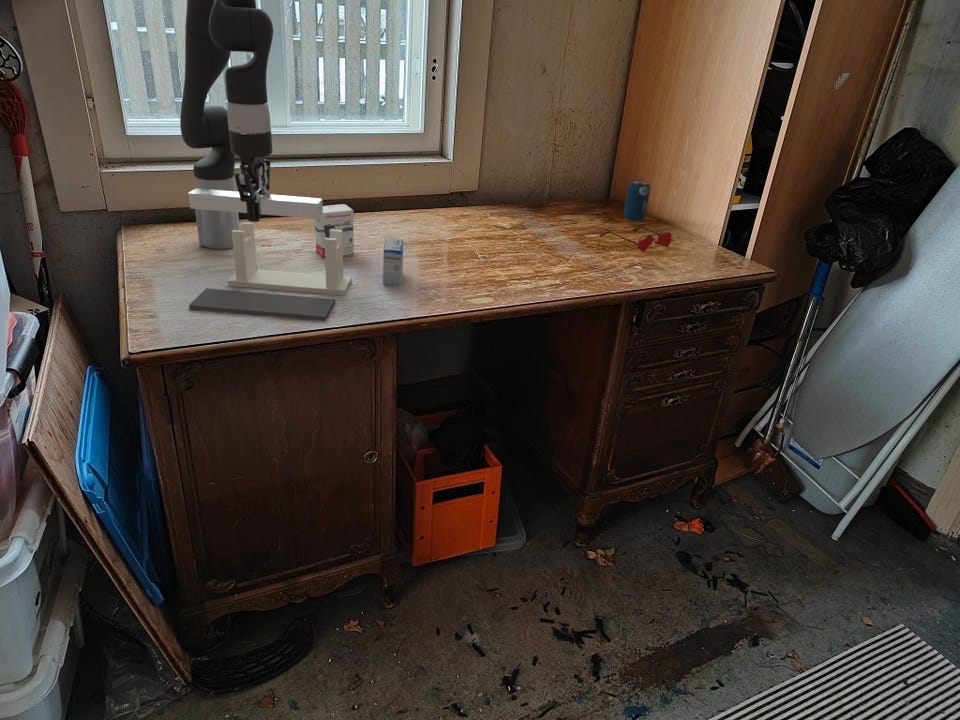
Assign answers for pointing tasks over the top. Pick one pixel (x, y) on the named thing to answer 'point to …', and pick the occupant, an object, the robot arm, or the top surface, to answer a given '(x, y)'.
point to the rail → (267, 203)
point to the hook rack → (288, 280)
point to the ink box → (335, 227)
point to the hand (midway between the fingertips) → (257, 217)
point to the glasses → (649, 239)
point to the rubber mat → (263, 304)
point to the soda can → (636, 200)
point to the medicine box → (393, 262)
